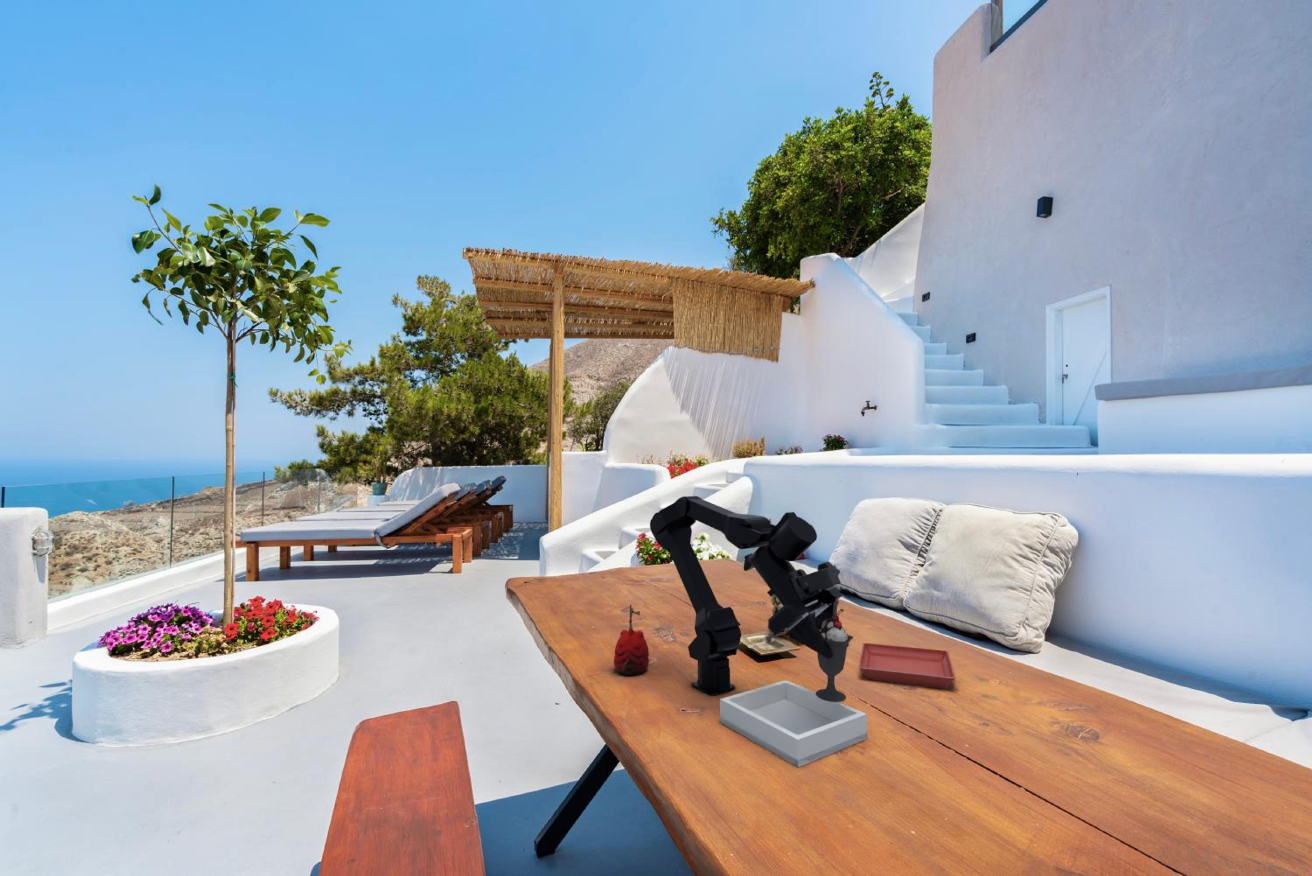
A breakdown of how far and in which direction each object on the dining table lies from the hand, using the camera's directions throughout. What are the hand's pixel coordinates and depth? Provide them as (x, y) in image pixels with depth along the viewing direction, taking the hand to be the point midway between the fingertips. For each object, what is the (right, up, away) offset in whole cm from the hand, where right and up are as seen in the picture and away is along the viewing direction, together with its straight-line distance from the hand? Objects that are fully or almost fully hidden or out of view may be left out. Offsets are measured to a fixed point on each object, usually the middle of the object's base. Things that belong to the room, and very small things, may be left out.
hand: (839, 652), depth 98 cm
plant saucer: (+23, -15, +28) cm, 40 cm away
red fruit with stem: (-36, -15, +29) cm, 49 cm away
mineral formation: (+4, -16, +52) cm, 54 cm away
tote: (-8, -13, +1) cm, 16 cm away
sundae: (-1, -8, +1) cm, 8 cm away
